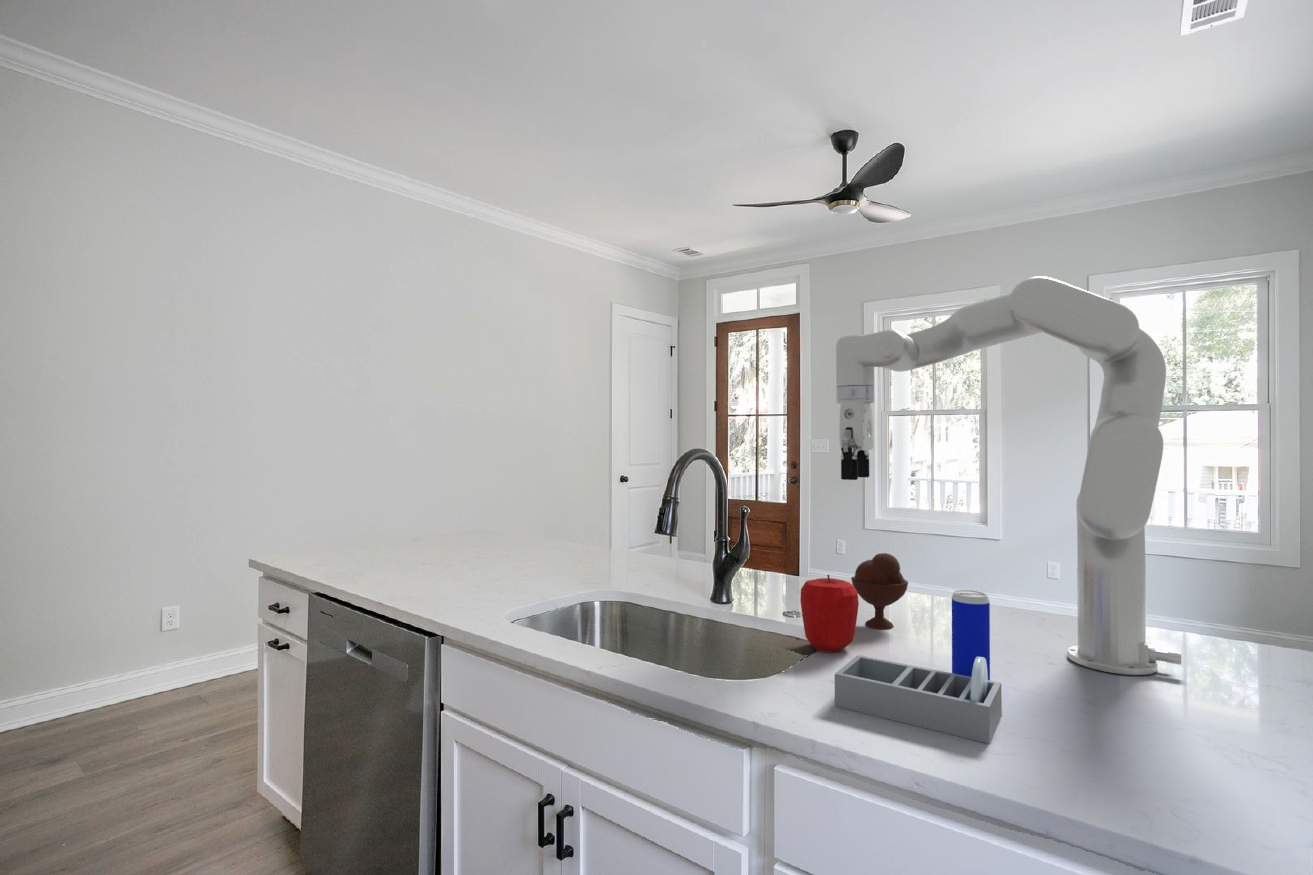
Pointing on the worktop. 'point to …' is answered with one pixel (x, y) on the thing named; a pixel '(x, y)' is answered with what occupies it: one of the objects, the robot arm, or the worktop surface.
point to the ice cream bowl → (880, 586)
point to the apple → (829, 613)
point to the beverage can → (970, 630)
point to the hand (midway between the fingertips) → (855, 478)
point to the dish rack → (918, 697)
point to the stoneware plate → (979, 680)
